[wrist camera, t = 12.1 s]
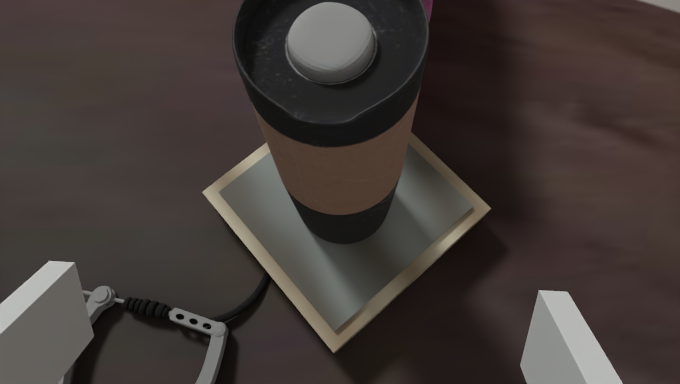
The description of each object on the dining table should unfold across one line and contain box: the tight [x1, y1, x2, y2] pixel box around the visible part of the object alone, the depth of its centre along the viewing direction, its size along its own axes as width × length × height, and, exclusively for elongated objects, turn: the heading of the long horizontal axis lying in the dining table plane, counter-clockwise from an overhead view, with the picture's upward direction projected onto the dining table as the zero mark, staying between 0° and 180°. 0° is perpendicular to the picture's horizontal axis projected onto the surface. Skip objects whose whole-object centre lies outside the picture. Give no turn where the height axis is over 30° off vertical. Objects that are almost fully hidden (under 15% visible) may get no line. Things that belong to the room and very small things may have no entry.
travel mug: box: [232, 0, 430, 244], centre depth 27 cm, size 8×8×20 cm
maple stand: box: [202, 132, 491, 353], centre depth 38 cm, size 16×16×3 cm
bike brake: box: [58, 273, 271, 384], centre depth 33 cm, size 14×7×20 cm
